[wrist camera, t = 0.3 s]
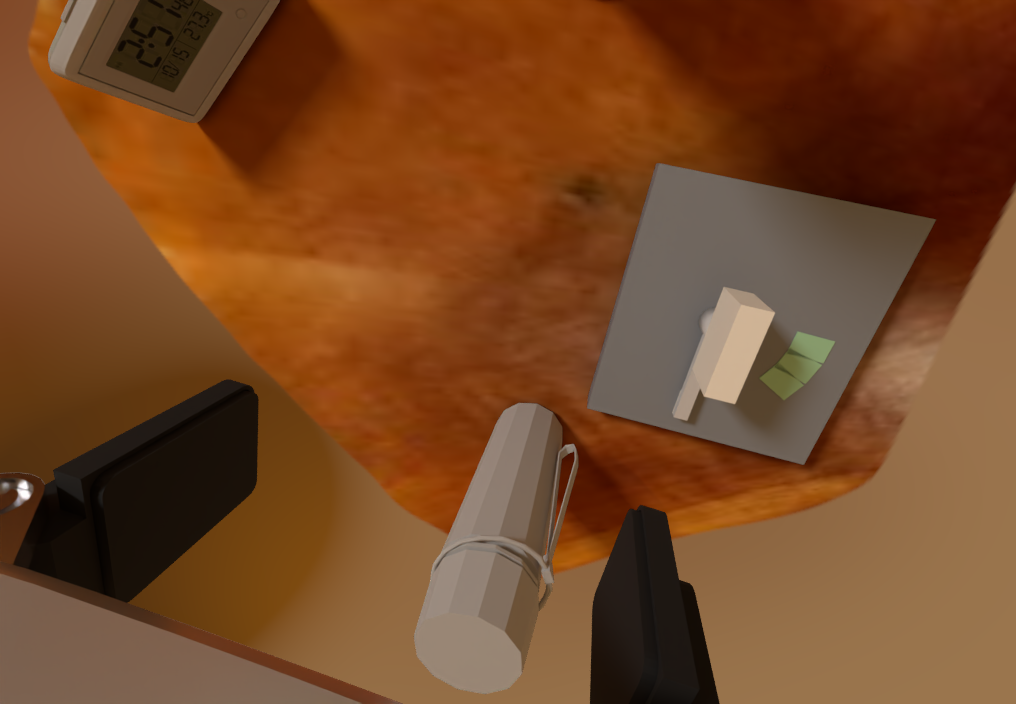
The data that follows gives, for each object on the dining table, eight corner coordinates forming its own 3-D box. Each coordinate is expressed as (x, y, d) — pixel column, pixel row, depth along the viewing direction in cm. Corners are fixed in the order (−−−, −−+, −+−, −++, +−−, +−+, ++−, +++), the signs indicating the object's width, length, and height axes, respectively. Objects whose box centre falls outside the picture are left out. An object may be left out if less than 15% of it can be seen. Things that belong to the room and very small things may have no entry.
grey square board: (656, 163, 38) (659, 163, 36) (915, 216, 36) (937, 219, 34) (588, 396, 47) (587, 408, 45) (793, 449, 45) (804, 465, 42)
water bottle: (508, 465, 52) (432, 701, 29) (486, 403, 49) (384, 606, 27) (590, 452, 49) (577, 700, 26) (571, 386, 47) (538, 595, 24)
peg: (714, 277, 38) (739, 304, 31) (744, 284, 38) (776, 312, 31) (665, 408, 43) (677, 458, 36) (691, 415, 43) (708, 466, 36)
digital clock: (196, 133, 45) (83, 124, 35) (133, 39, 43) (-6, 2, 33) (317, 26, 39) (223, -20, 30) (252, -88, 37) (127, -177, 28)
